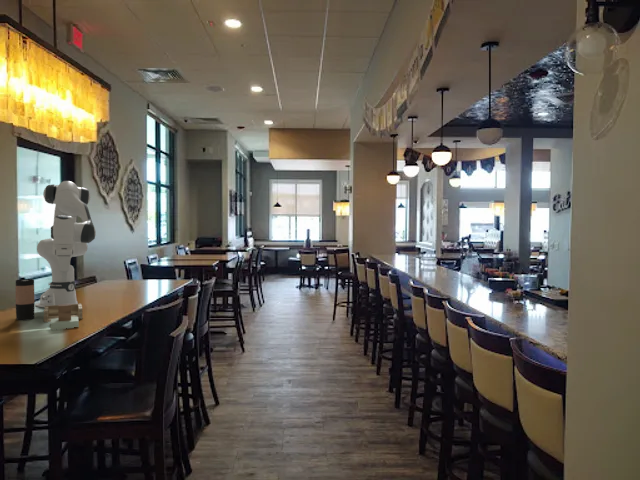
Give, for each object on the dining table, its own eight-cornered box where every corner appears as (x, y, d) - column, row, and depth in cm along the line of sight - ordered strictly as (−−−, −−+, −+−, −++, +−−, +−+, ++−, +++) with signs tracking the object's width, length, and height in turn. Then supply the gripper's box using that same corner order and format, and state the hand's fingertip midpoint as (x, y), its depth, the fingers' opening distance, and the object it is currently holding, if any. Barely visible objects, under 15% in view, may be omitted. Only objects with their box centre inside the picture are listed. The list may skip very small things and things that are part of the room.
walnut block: (58, 319, 204) (58, 304, 204) (70, 318, 207) (70, 303, 207) (58, 321, 200) (58, 306, 200) (71, 320, 203) (70, 305, 202)
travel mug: (12, 321, 211) (11, 280, 211) (27, 318, 219) (27, 278, 218) (22, 323, 209) (22, 281, 208) (38, 319, 216) (37, 279, 215)
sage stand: (51, 325, 205) (51, 318, 205) (78, 322, 211) (78, 316, 211) (50, 330, 196) (50, 323, 196) (78, 327, 202) (78, 320, 201)
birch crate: (45, 317, 221) (45, 305, 221) (81, 314, 229) (81, 303, 229) (43, 324, 207) (43, 311, 207) (82, 320, 215) (82, 308, 215)
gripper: (56, 249, 210) (56, 277, 210) (55, 252, 192) (55, 283, 193) (71, 248, 213) (71, 277, 213) (72, 251, 195) (72, 282, 196)
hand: (64, 280), depth 203 cm, fingers open, 8 cm apart
